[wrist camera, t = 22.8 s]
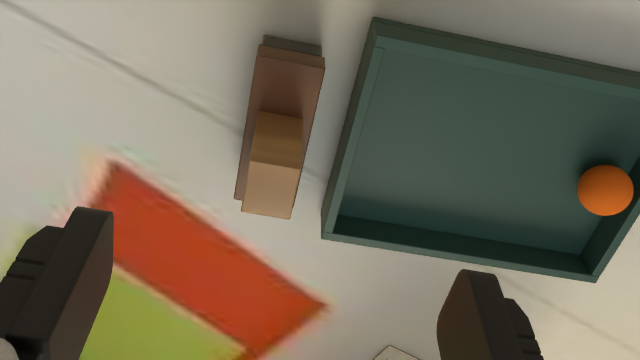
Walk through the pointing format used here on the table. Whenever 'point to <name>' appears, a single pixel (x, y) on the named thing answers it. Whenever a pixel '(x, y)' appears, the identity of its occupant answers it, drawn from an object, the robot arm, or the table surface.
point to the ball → (605, 190)
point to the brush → (278, 125)
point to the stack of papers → (393, 355)
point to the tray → (481, 153)
